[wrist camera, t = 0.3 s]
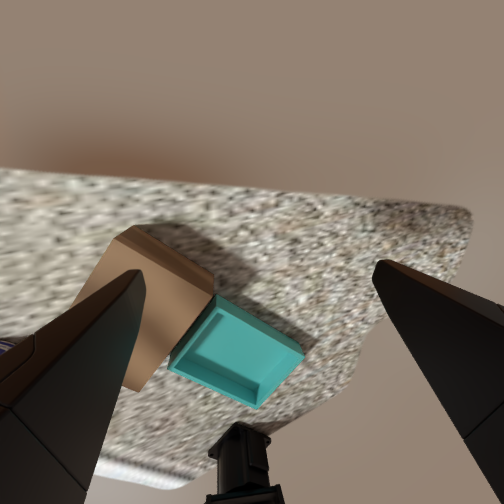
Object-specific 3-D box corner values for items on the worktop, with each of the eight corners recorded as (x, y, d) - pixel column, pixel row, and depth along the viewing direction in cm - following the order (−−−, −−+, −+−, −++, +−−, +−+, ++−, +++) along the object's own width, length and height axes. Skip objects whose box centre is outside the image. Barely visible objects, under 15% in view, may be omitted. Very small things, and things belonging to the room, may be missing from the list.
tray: (253, 392, 31) (256, 409, 29) (171, 352, 28) (166, 368, 26) (298, 342, 30) (305, 357, 27) (216, 294, 26) (216, 305, 24)
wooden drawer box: (151, 357, 28) (138, 392, 23) (71, 321, 25) (41, 352, 21) (213, 274, 25) (212, 296, 21) (133, 225, 23) (113, 238, 19)
